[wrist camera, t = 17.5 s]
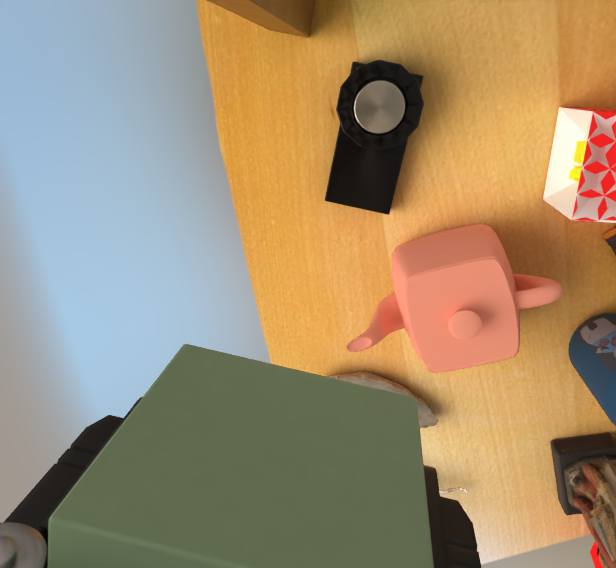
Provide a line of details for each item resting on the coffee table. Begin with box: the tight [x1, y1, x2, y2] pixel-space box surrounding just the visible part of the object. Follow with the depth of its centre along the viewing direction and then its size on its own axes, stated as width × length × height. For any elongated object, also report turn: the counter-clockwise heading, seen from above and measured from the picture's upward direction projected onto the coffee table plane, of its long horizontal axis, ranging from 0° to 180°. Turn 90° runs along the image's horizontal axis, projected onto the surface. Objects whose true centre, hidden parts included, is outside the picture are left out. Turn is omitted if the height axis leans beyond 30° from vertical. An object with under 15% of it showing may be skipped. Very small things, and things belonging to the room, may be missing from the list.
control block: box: [325, 60, 424, 214], centre depth 47 cm, size 12×7×4 cm, turn 169°
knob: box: [354, 81, 405, 133], centre depth 44 cm, size 4×4×2 cm
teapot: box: [347, 224, 563, 373], centre depth 48 cm, size 12×18×10 cm, turn 107°
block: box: [48, 344, 434, 568], centre depth 9 cm, size 5×5×5 cm
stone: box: [328, 372, 438, 428], centre depth 57 cm, size 13×3×5 cm
